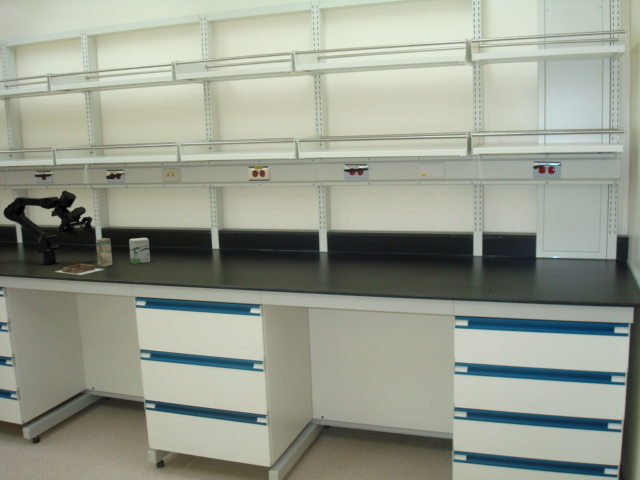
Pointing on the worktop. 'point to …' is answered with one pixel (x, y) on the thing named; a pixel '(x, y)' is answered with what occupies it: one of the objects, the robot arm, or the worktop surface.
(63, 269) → the brown wooden tray
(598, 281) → the worktop surface
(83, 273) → the mat
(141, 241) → the ink box
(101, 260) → the tan box
